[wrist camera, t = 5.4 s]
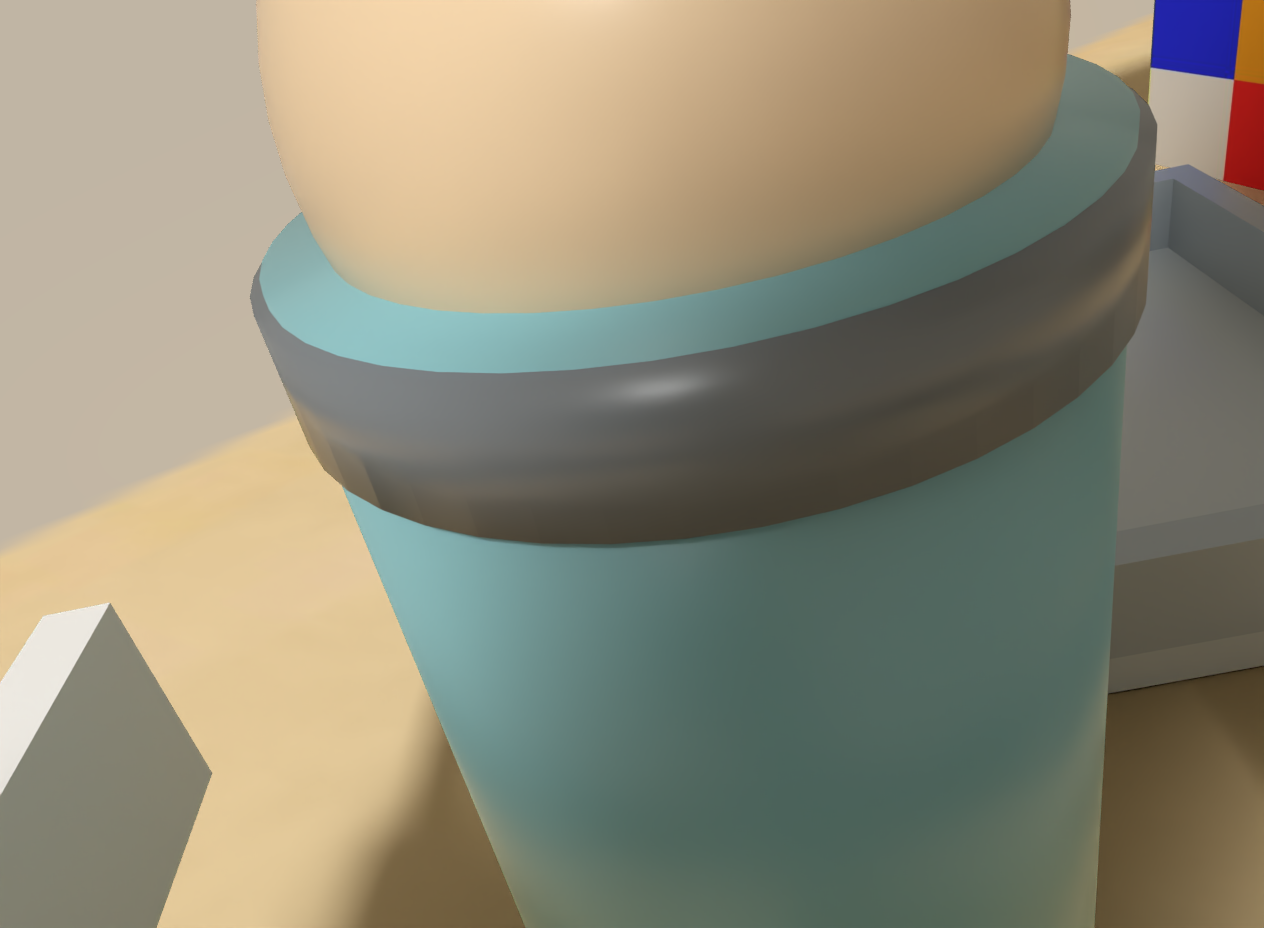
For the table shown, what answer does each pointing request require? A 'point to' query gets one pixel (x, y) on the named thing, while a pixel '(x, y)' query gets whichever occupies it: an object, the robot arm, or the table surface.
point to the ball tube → (730, 431)
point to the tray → (1193, 444)
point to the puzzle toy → (1209, 87)
